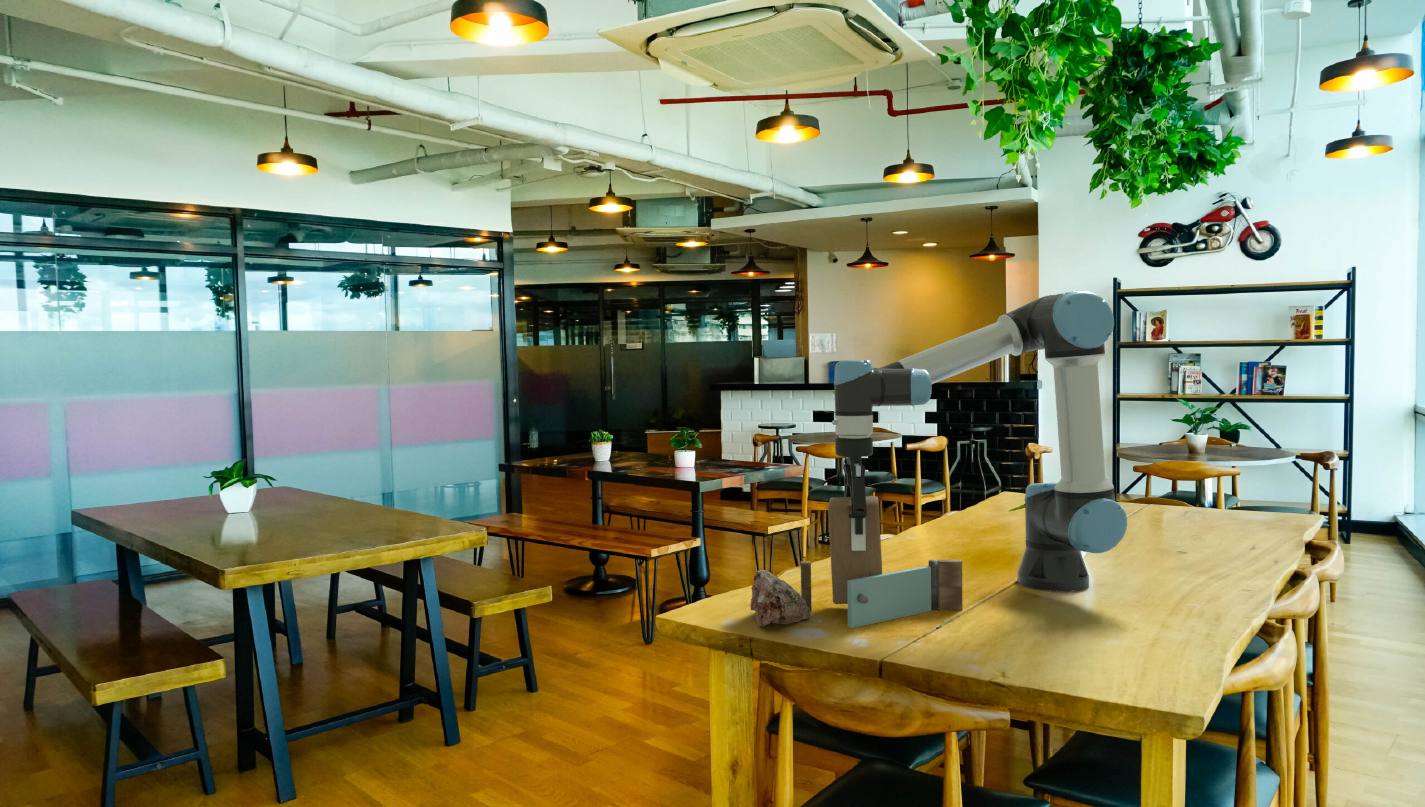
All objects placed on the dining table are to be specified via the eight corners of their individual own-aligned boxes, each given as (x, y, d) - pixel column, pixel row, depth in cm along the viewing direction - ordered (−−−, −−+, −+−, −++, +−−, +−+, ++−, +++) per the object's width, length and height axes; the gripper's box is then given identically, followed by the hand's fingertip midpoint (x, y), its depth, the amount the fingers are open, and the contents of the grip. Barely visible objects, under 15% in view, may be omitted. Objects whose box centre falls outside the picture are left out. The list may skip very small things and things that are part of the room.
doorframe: (960, 607, 184) (960, 559, 184) (962, 610, 183) (962, 561, 182) (801, 609, 186) (800, 561, 185) (801, 611, 184) (801, 563, 183)
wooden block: (884, 604, 177) (878, 504, 176) (833, 604, 179) (827, 505, 178) (882, 590, 187) (877, 495, 186) (834, 591, 189) (829, 497, 188)
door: (927, 609, 184) (926, 566, 183) (936, 612, 181) (936, 568, 181) (847, 626, 173) (847, 580, 172) (856, 630, 170) (856, 583, 170)
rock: (775, 561, 188) (823, 561, 176) (784, 613, 188) (833, 617, 176) (716, 578, 179) (763, 579, 167) (726, 633, 179) (774, 638, 167)
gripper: (830, 432, 193) (831, 533, 194) (841, 441, 170) (842, 557, 171) (865, 431, 193) (866, 533, 194) (880, 441, 170) (882, 556, 171)
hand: (855, 544), depth 182 cm, fingers closed on wooden block, 10 cm apart
